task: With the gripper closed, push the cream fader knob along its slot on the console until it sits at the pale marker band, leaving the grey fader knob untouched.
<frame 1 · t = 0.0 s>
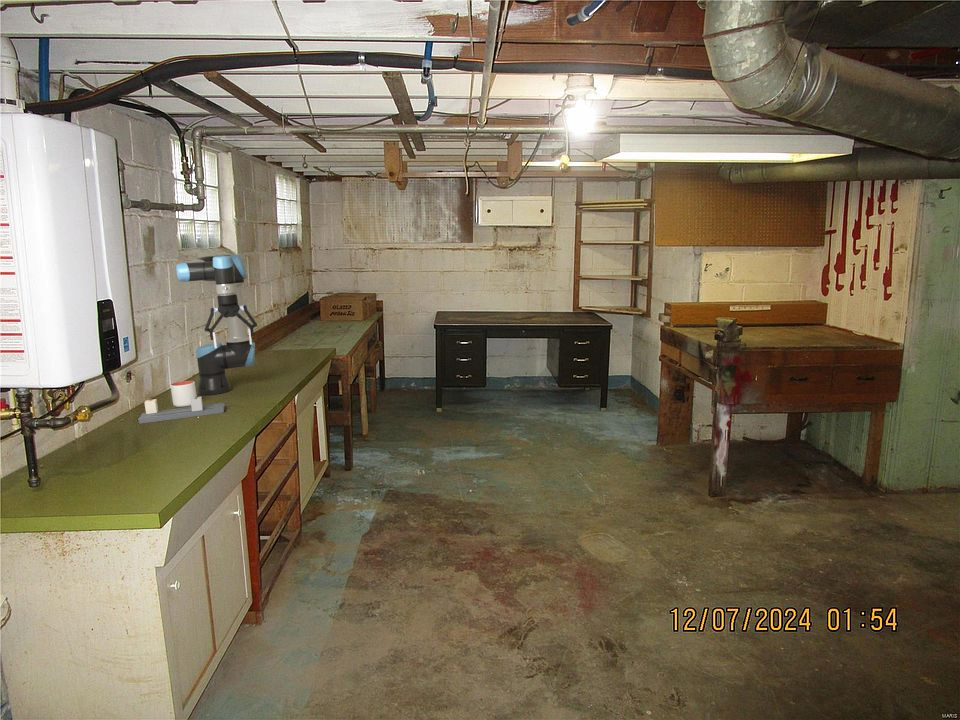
hand: (233, 346, 263), 28 cm above the counter, fingers open, 13 cm apart
console: (183, 415, 268), on the counter
fader a: (151, 406, 266), point 5 cm above the counter, slide at 0.0 cm
cup: (185, 405, 286), on the counter
fader b: (196, 403, 266), point 5 cm above the counter, slide at 0.0 cm
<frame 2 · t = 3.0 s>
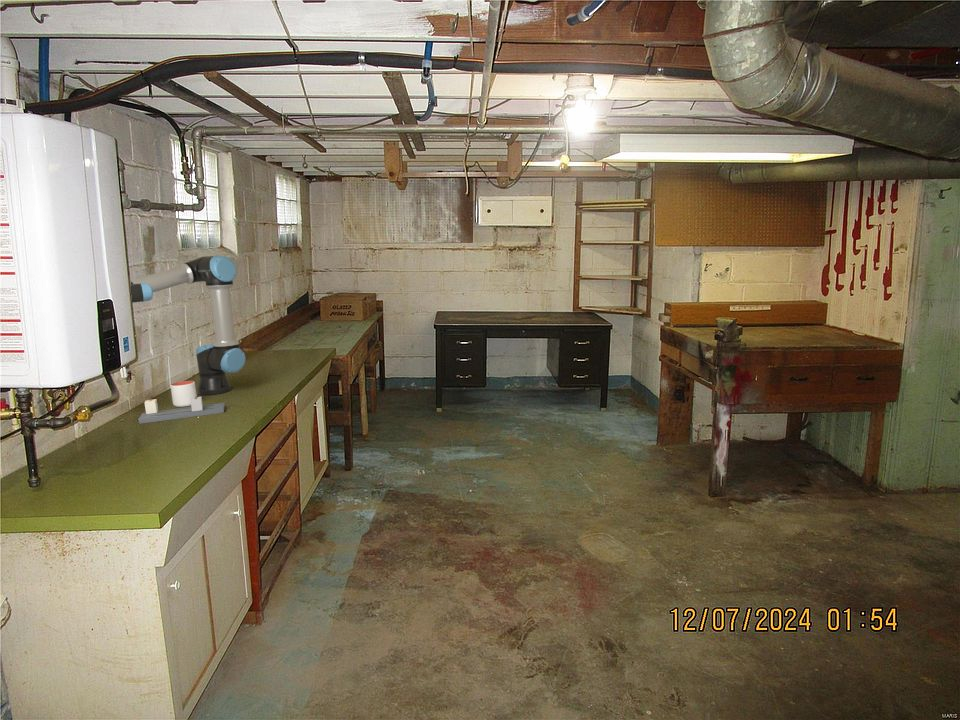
hand: (124, 376, 261), 18 cm above the counter, fingers closed
nothing on the counter moved.
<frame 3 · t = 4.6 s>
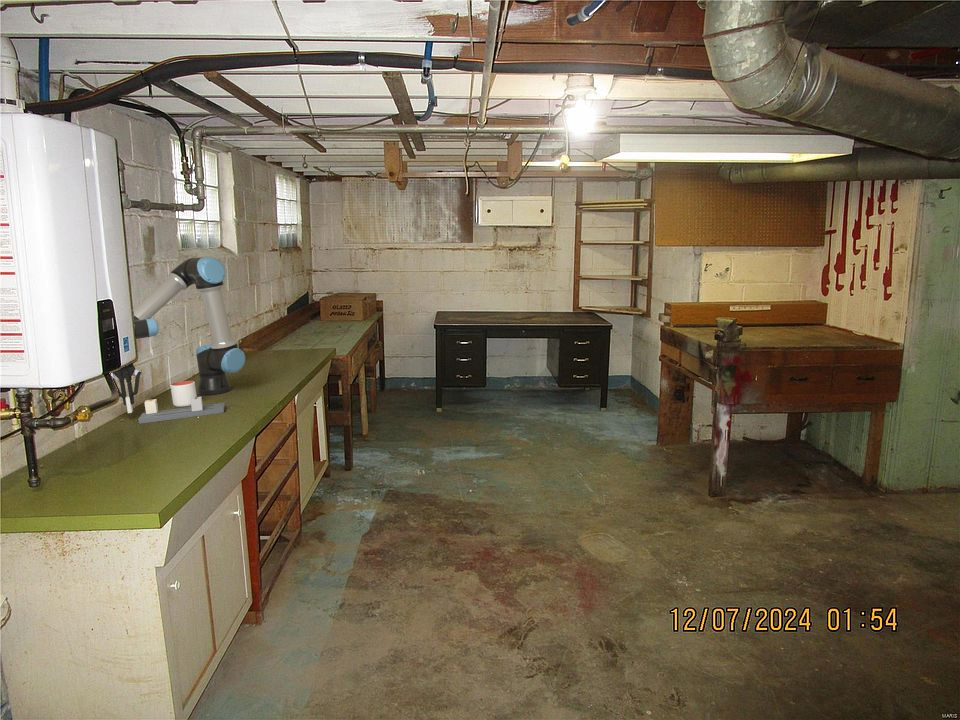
hand: (130, 412, 264), 3 cm above the counter, fingers closed
nothing on the counter moved.
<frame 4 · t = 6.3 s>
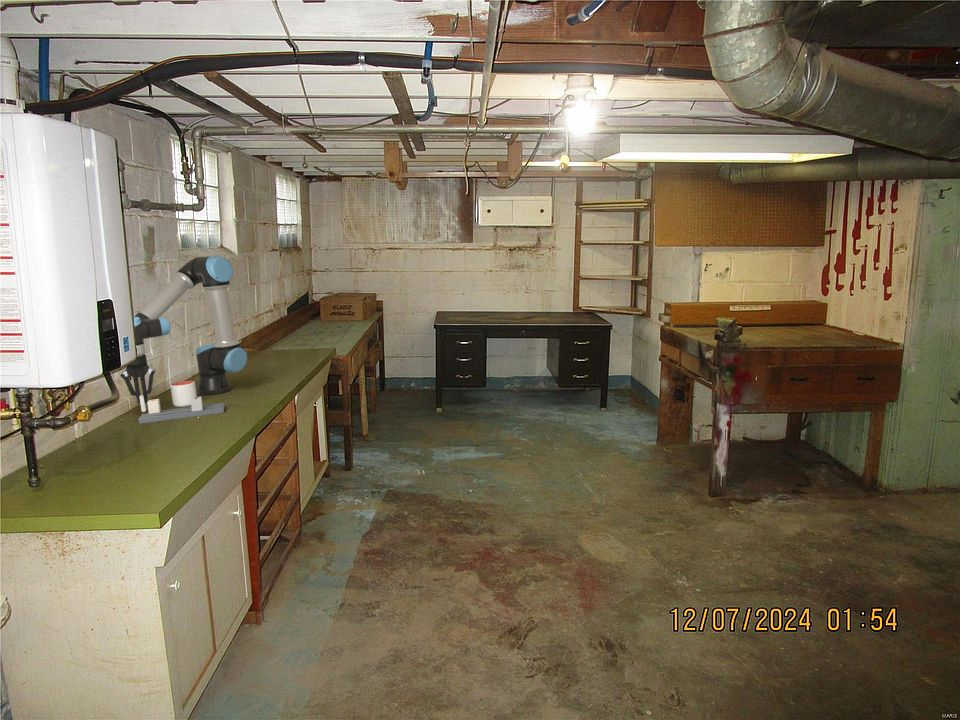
hand: (144, 410, 265), 3 cm above the counter, fingers closed
fader a: (154, 406, 266), point 5 cm above the counter, slide at 1.0 cm, touching gripper
everything else where it was.
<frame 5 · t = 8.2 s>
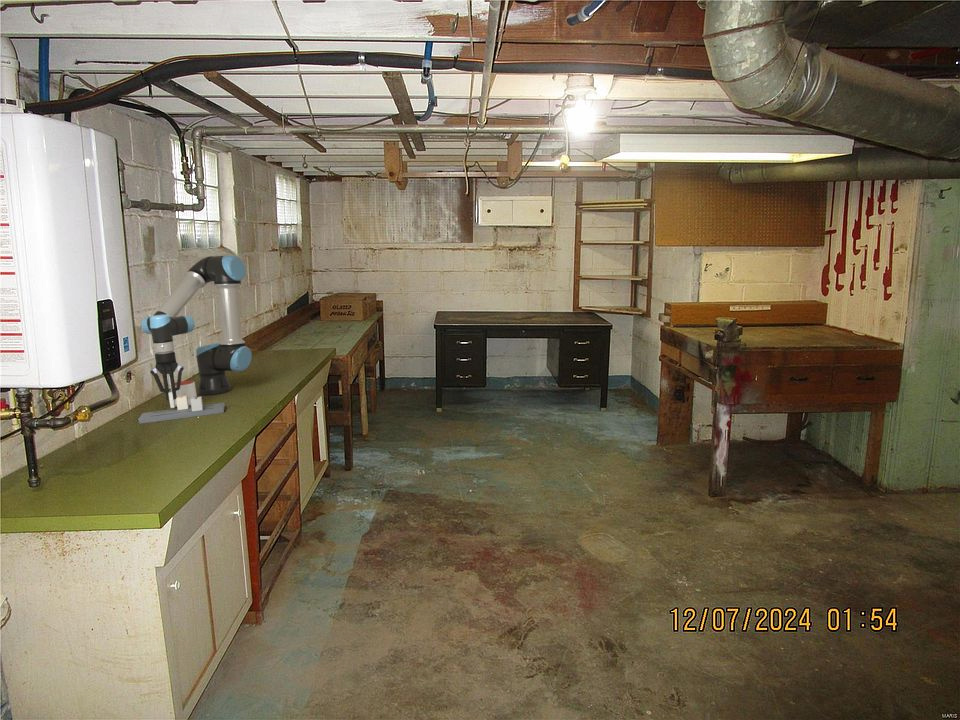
hand: (172, 407, 269), 3 cm above the counter, fingers closed
fader a: (182, 402, 270), point 5 cm above the counter, slide at 11.9 cm, touching gripper
everything else where it was.
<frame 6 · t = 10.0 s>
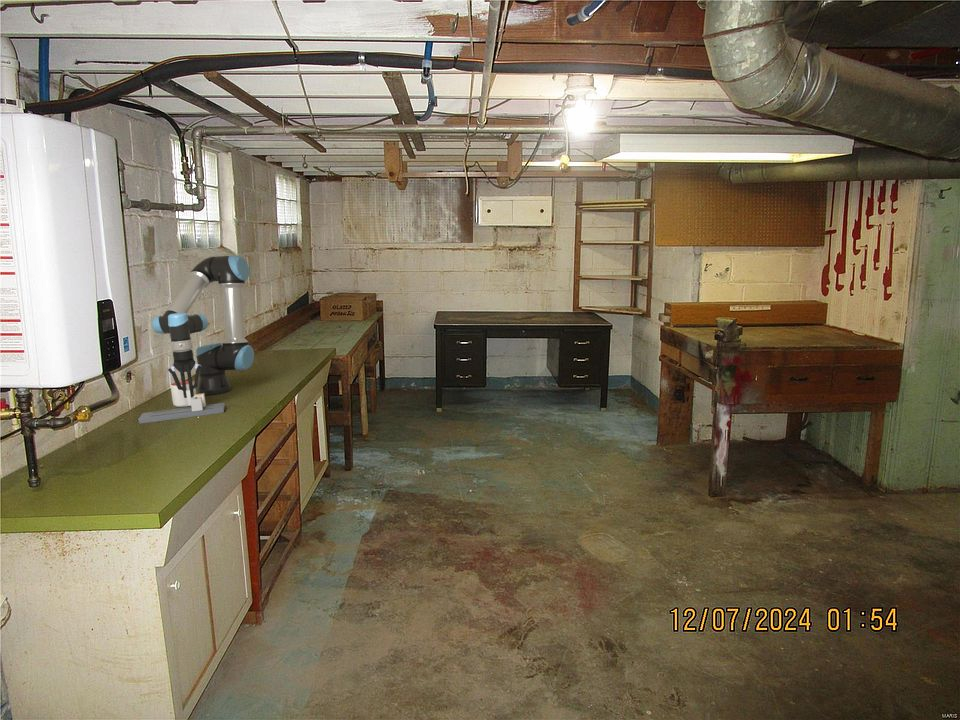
hand: (190, 404, 271), 3 cm above the counter, fingers closed
fader a: (199, 400, 272), point 5 cm above the counter, slide at 18.7 cm, touching gripper
everything else where it was.
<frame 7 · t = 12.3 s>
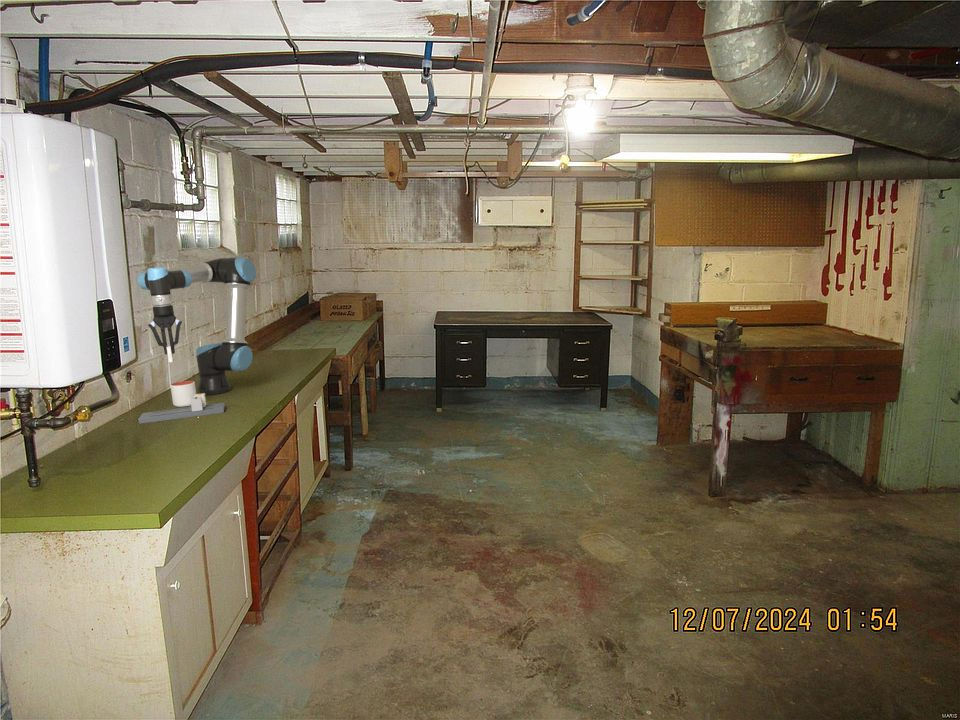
hand: (171, 361, 266), 23 cm above the counter, fingers closed
fader a: (200, 400, 272), point 5 cm above the counter, slide at 18.9 cm
everything else where it was.
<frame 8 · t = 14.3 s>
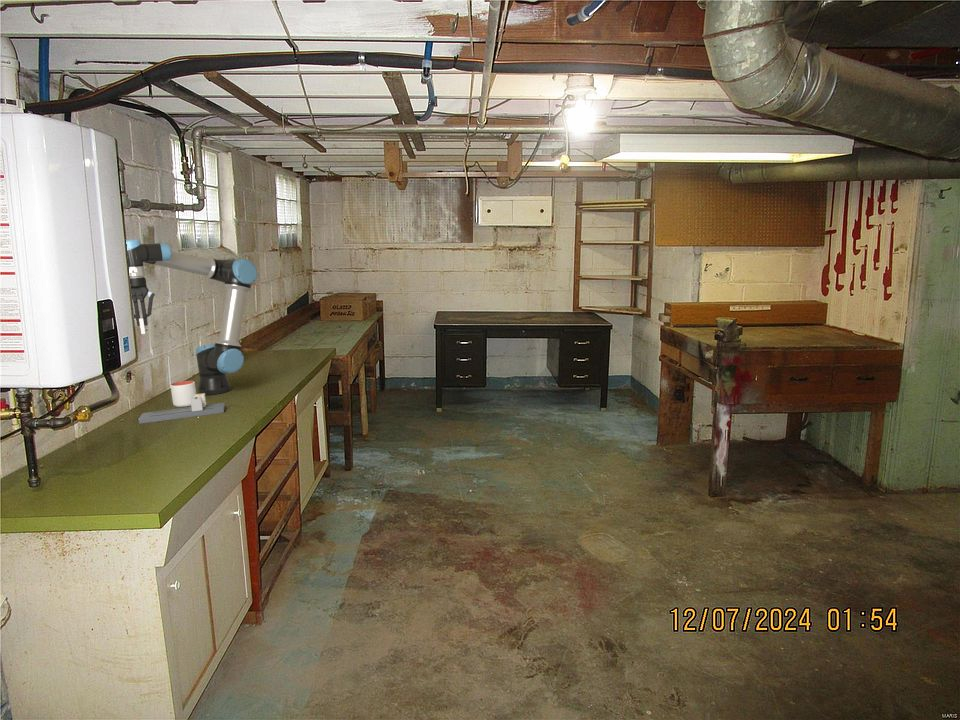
hand: (143, 333, 269), 34 cm above the counter, fingers closed
nothing on the counter moved.
at the end: fader a slide at 18.9 cm; fader b slide at 0.0 cm; fader a touching nothing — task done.
